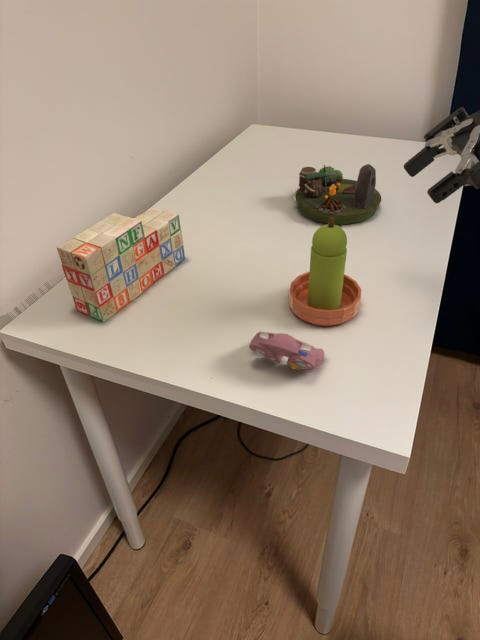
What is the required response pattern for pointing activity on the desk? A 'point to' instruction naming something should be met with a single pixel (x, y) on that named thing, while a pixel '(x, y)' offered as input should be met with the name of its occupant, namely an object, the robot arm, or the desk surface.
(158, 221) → the stack of blocks
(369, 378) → the desk surface
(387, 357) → the desk surface
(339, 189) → the toy scene
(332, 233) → the pear toy
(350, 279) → the bowl
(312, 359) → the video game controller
